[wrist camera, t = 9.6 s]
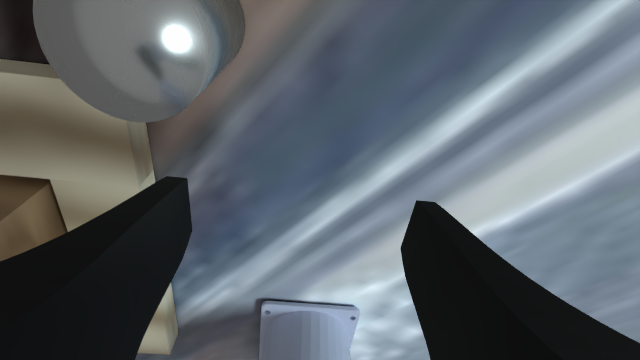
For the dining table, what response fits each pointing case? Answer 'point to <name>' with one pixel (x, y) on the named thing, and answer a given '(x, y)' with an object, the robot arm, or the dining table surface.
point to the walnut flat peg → (27, 214)
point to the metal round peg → (139, 50)
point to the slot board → (77, 159)
